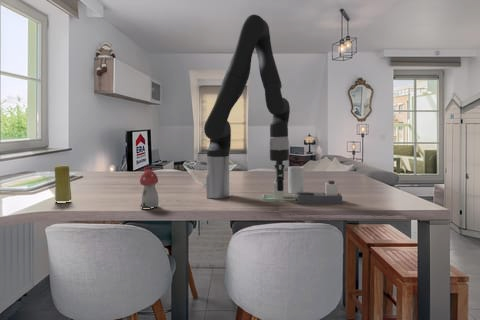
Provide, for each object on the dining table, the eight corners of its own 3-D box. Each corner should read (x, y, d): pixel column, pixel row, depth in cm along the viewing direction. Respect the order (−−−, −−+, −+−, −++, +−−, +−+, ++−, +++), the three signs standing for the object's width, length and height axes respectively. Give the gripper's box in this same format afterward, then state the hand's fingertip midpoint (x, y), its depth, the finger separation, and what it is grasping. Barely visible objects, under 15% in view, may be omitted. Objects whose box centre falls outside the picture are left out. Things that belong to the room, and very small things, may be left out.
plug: (273, 200, 155) (273, 180, 154) (273, 198, 159) (273, 178, 158) (283, 200, 155) (283, 180, 154) (283, 198, 159) (283, 178, 158)
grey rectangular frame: (298, 206, 146) (298, 195, 146) (296, 202, 153) (297, 192, 153) (342, 206, 145) (342, 196, 145) (338, 203, 152) (338, 192, 152)
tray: (262, 202, 153) (262, 198, 153) (262, 198, 162) (262, 194, 162) (295, 203, 152) (295, 199, 152) (294, 198, 161) (294, 194, 161)
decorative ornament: (143, 205, 150) (142, 165, 149) (160, 204, 151) (159, 165, 149) (138, 210, 141) (137, 168, 139) (156, 210, 141) (155, 168, 140)
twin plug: (326, 202, 147) (326, 181, 146) (324, 200, 151) (325, 180, 150) (337, 203, 147) (337, 181, 146) (335, 200, 151) (335, 180, 150)
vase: (59, 200, 159) (57, 165, 158) (74, 200, 159) (73, 165, 158) (52, 203, 153) (50, 167, 152) (68, 203, 153) (66, 167, 152)
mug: (303, 196, 166) (303, 168, 165) (287, 195, 167) (287, 167, 166) (304, 192, 176) (304, 165, 174) (289, 191, 177) (289, 165, 176)
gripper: (269, 147, 163) (270, 186, 164) (269, 149, 148) (270, 192, 150) (287, 147, 162) (288, 186, 163) (289, 149, 148) (290, 191, 149)
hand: (279, 189), depth 157 cm, fingers open, 8 cm apart
